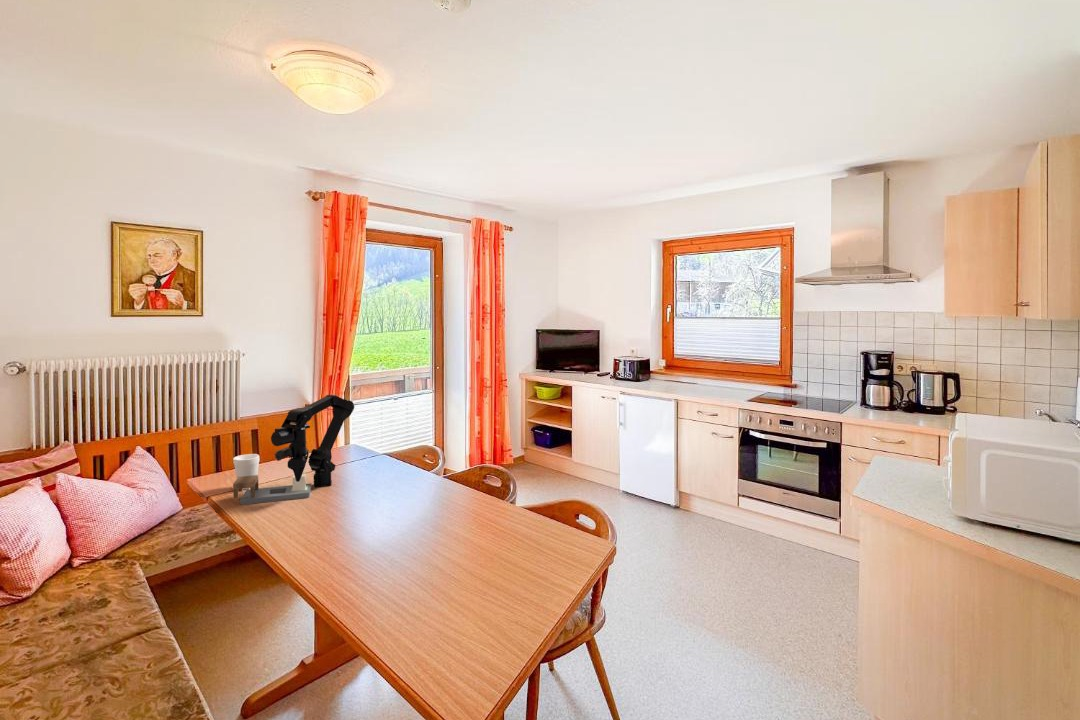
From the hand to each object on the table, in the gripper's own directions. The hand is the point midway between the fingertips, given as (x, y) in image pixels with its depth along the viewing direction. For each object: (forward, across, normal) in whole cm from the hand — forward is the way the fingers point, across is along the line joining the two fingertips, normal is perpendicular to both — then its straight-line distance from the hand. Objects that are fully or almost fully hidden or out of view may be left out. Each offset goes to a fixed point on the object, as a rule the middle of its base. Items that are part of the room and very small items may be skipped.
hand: (299, 478), depth 199 cm
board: (+7, 0, -8) cm, 10 cm away
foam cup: (+7, -16, -21) cm, 28 cm away
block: (+4, 0, 0) cm, 4 cm away
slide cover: (+4, 0, -19) cm, 20 cm away
